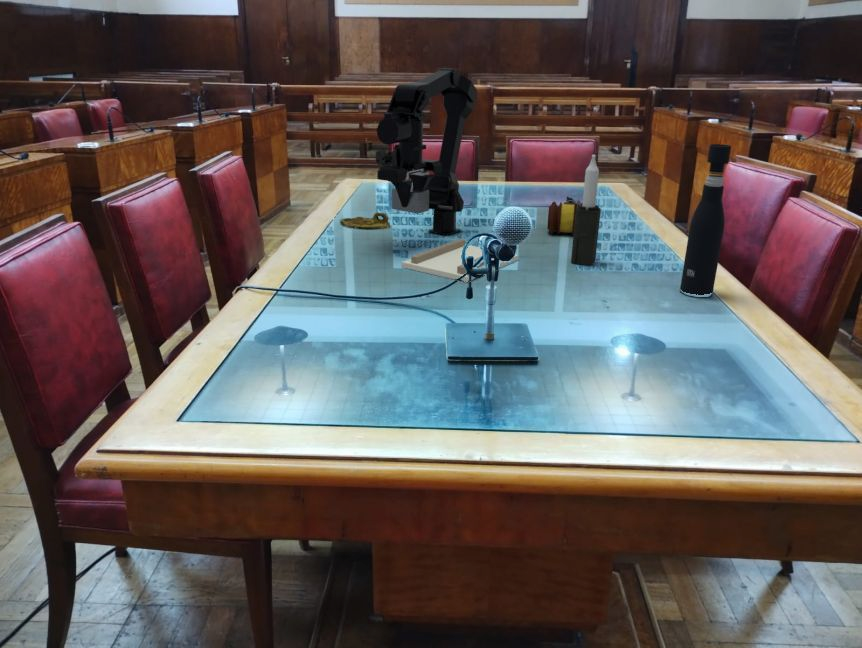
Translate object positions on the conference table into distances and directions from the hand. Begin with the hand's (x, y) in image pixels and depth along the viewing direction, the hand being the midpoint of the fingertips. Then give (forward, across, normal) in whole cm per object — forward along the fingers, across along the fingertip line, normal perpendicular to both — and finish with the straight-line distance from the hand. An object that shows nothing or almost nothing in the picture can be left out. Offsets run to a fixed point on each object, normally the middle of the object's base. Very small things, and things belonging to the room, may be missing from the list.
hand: (410, 205), depth 170 cm
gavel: (+11, -48, +20) cm, 53 cm away
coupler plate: (+10, +4, +18) cm, 21 cm away
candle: (+11, -15, +40) cm, 44 cm away
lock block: (+1, 0, 0) cm, 1 cm away
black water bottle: (+11, -9, +68) cm, 69 cm away
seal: (+11, -10, -24) cm, 28 cm away
